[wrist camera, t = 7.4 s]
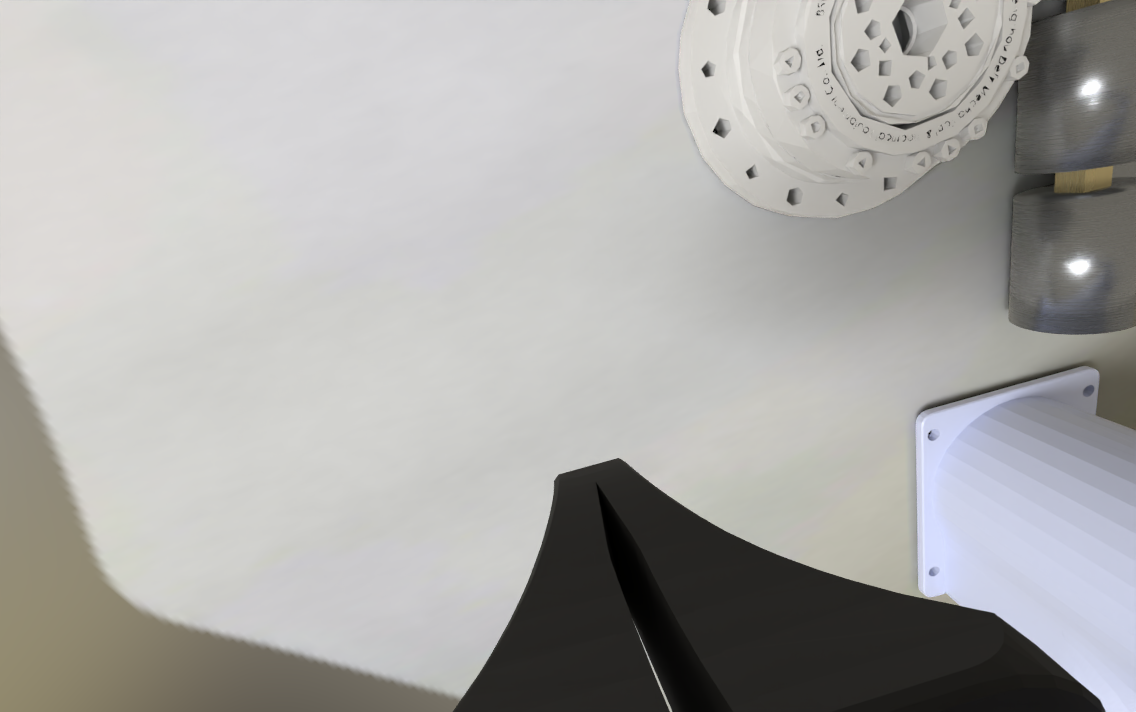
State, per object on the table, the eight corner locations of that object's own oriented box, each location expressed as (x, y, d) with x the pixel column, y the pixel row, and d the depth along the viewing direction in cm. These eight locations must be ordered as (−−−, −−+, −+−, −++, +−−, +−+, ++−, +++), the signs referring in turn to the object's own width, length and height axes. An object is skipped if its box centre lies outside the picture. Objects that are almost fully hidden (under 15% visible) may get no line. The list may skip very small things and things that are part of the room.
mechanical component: (988, 123, 19) (906, -191, 16) (1126, 105, 15) (1052, -323, 12) (748, 268, 20) (621, -11, 17) (819, 290, 16) (666, -78, 12)
